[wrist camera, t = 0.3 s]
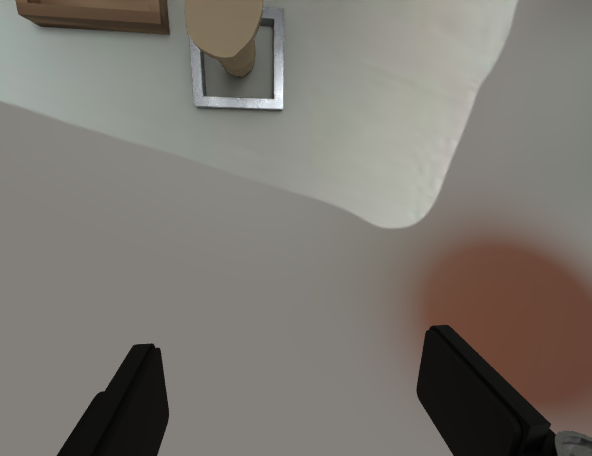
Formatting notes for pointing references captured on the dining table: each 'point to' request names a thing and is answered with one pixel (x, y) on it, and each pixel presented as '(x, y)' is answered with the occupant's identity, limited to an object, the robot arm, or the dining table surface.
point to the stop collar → (201, 101)
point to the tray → (98, 14)
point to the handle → (225, 31)
